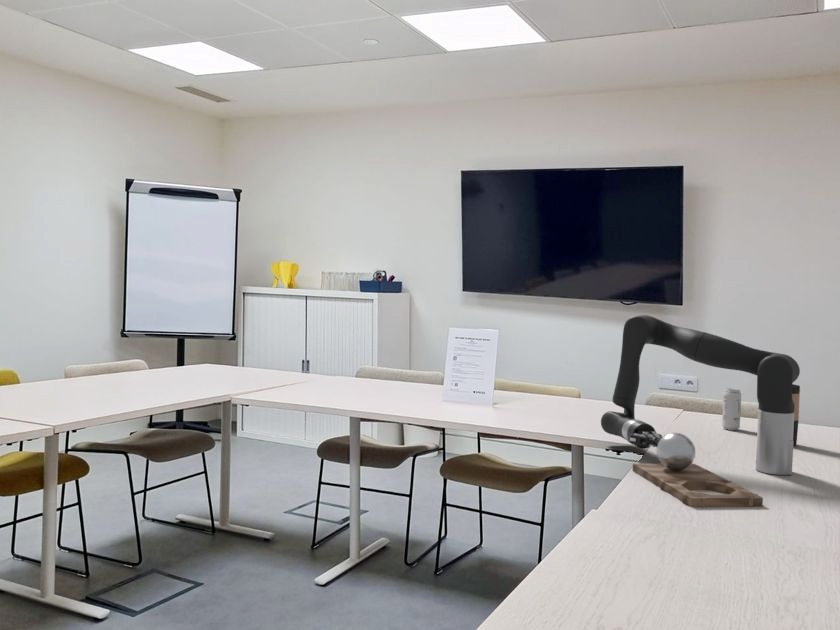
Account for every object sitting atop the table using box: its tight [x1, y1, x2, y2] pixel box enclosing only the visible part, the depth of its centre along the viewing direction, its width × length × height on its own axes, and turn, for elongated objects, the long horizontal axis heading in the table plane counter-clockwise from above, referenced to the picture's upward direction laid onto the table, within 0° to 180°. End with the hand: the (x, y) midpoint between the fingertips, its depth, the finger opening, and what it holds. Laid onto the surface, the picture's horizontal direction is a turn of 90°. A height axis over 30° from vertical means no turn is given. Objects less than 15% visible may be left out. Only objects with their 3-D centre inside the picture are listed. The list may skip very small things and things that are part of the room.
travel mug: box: [792, 383, 801, 447], centre depth 256 cm, size 8×8×20 cm
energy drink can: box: [721, 387, 742, 431], centre depth 281 cm, size 6×6×15 cm
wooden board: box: [632, 463, 764, 508], centre depth 197 cm, size 34×19×2 cm, turn 7°
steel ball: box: [656, 432, 696, 470], centre depth 207 cm, size 10×10×10 cm
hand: (663, 445), depth 214 cm, fingers closed
